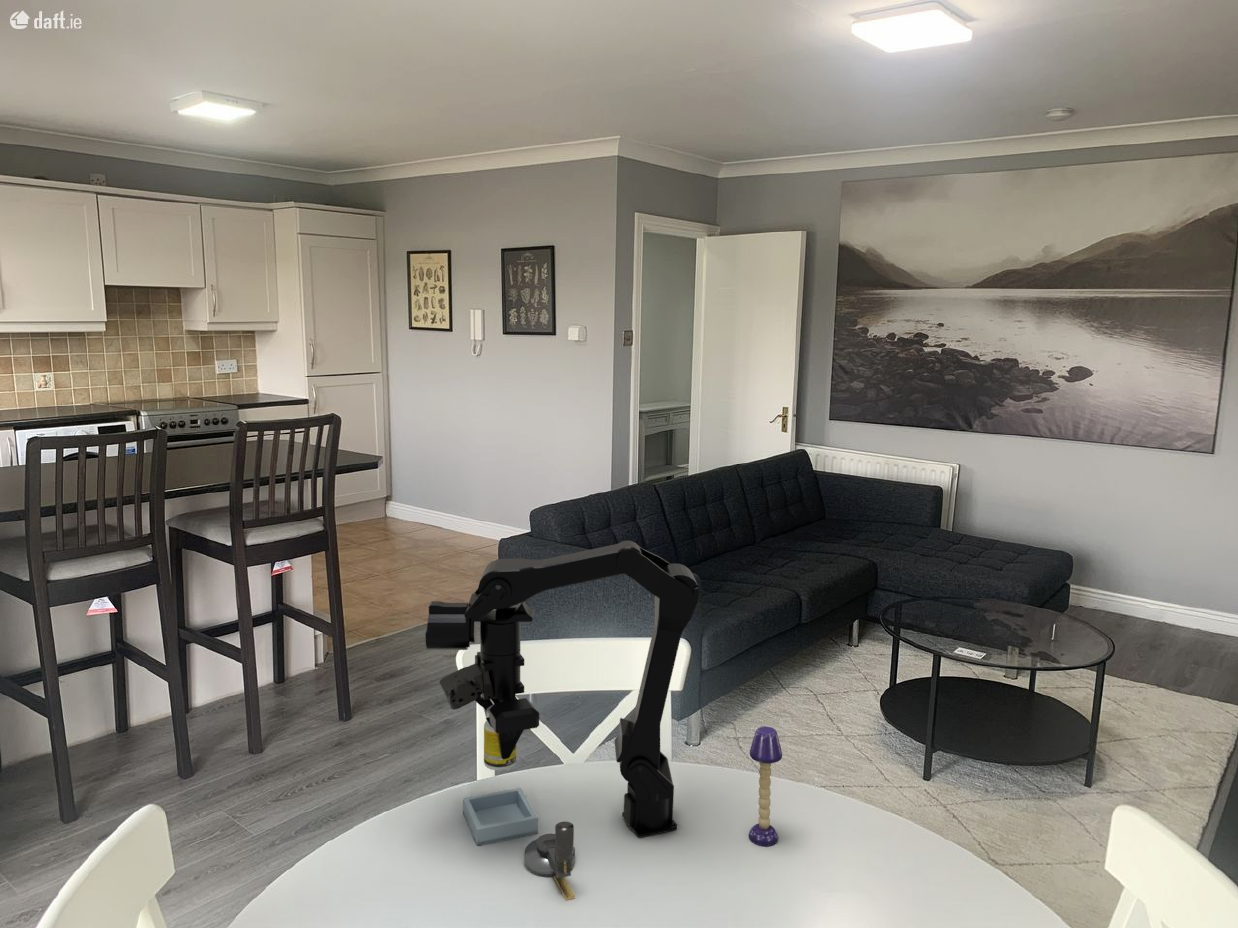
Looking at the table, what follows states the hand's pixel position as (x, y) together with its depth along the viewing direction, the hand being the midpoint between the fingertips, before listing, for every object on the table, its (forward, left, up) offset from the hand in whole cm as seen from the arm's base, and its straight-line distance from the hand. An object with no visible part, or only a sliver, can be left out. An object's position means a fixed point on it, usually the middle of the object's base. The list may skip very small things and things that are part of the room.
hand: (500, 750), depth 132 cm
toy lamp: (-35, +16, -12) cm, 40 cm away
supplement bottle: (0, 0, -2) cm, 2 cm away
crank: (-4, +14, -10) cm, 18 cm away
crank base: (-4, +14, -12) cm, 19 cm away
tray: (0, 0, -12) cm, 12 cm away
